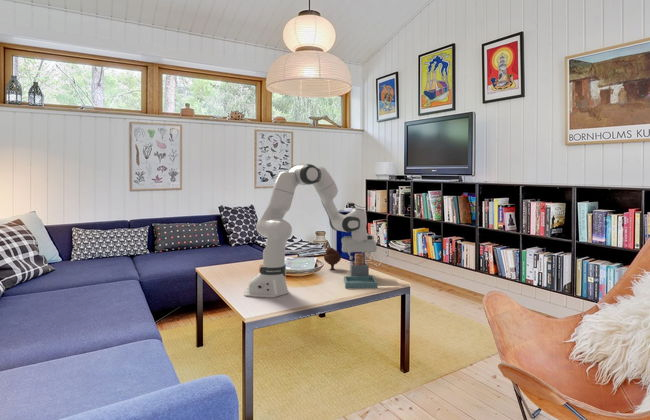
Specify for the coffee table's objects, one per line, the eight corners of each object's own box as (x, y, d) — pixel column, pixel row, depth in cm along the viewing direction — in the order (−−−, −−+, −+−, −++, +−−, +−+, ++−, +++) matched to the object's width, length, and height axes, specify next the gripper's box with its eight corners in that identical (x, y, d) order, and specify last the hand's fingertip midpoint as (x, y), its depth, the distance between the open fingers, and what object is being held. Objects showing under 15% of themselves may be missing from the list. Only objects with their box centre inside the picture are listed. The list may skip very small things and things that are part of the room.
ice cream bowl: (334, 274, 241) (334, 250, 240) (320, 271, 248) (320, 248, 247) (344, 270, 250) (344, 247, 248) (330, 268, 256) (330, 245, 255)
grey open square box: (351, 280, 227) (351, 265, 226) (349, 275, 237) (349, 261, 236) (368, 279, 227) (368, 265, 227) (366, 275, 237) (366, 261, 237)
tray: (345, 288, 211) (345, 282, 210) (343, 281, 225) (343, 276, 224) (377, 288, 211) (377, 282, 211) (373, 281, 225) (373, 275, 225)
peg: (355, 277, 230) (355, 255, 228) (354, 275, 235) (354, 253, 233) (363, 277, 230) (363, 255, 229) (362, 275, 235) (362, 253, 234)
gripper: (341, 237, 227) (341, 260, 228) (377, 236, 227) (377, 260, 228) (341, 235, 233) (341, 258, 234) (375, 235, 233) (375, 258, 235)
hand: (359, 259), depth 231 cm, fingers open, 8 cm apart
